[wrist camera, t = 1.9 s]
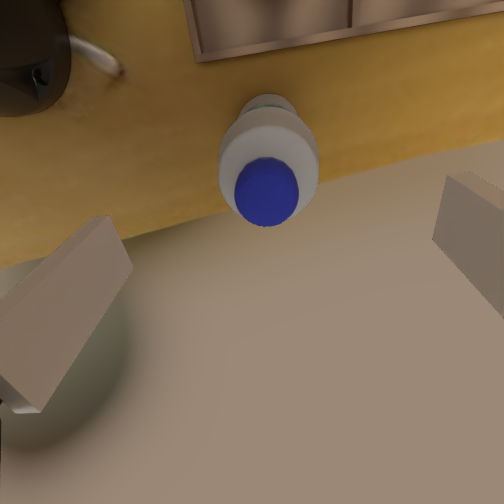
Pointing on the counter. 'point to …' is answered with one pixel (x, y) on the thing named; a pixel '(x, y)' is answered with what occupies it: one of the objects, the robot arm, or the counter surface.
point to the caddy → (309, 21)
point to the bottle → (268, 162)
